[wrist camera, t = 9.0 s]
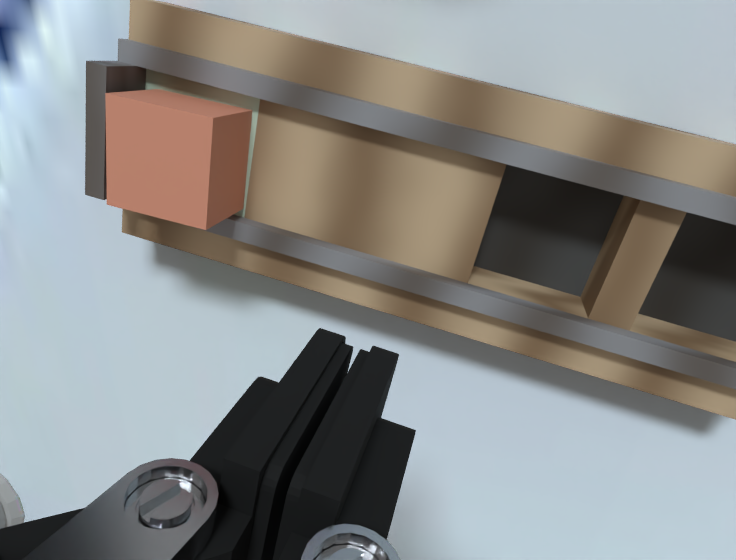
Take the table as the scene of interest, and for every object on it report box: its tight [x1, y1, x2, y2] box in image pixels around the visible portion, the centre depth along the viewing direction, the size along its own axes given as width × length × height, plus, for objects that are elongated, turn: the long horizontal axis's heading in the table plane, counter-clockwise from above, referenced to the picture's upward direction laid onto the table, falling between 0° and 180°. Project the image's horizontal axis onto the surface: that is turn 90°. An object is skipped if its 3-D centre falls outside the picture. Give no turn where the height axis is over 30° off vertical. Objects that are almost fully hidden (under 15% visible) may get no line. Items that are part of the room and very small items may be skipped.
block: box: [105, 89, 252, 230], centre depth 26 cm, size 5×5×4 cm
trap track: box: [85, 0, 736, 419], centre depth 26 cm, size 34×12×6 cm, turn 77°
